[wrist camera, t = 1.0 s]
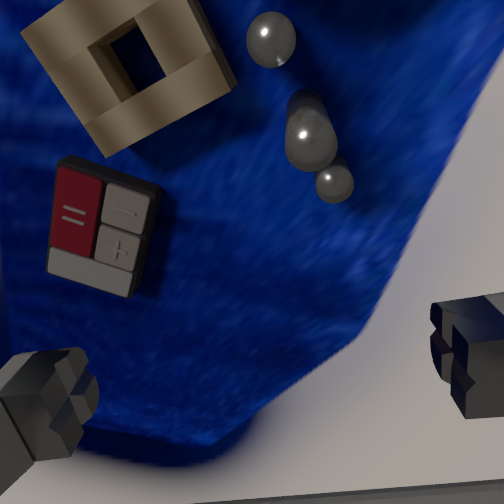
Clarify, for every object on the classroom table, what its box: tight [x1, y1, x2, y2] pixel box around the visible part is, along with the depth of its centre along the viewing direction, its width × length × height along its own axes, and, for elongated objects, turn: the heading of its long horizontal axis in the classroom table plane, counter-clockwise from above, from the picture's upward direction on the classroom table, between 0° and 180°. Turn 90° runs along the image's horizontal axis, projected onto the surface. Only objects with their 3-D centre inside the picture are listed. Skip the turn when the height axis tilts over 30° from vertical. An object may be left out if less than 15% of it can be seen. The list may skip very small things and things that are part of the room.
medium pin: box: [246, 12, 296, 68], centre depth 32 cm, size 4×4×9 cm
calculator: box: [45, 155, 162, 299], centre depth 47 cm, size 11×4×15 cm
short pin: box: [314, 153, 354, 203], centre depth 40 cm, size 4×4×5 cm
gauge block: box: [20, 0, 237, 158], centre depth 36 cm, size 14×12×5 cm
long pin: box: [285, 88, 338, 172], centre depth 33 cm, size 4×4×14 cm
